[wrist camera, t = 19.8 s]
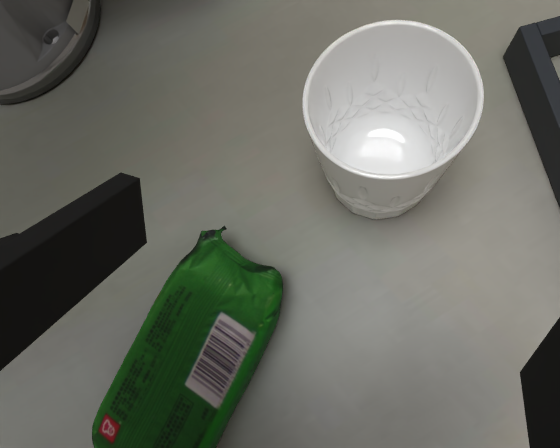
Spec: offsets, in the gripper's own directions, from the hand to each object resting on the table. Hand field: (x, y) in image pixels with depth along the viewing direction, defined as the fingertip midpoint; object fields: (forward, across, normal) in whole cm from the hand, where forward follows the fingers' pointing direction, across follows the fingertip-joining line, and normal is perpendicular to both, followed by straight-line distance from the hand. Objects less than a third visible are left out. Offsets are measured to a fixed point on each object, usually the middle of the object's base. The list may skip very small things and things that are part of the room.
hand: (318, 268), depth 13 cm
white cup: (+16, 0, -4) cm, 17 cm away
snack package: (+6, -7, -15) cm, 18 cm away
